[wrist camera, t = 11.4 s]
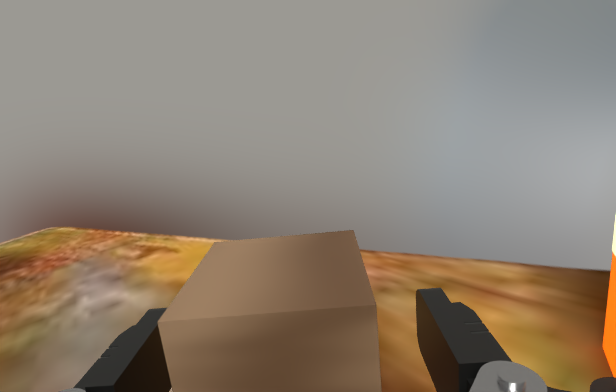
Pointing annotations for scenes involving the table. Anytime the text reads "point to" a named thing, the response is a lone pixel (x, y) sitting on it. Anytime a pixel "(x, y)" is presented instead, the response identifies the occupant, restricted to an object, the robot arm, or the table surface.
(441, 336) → the robot arm
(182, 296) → the walnut block
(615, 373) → the orange juice
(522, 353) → the table surface
